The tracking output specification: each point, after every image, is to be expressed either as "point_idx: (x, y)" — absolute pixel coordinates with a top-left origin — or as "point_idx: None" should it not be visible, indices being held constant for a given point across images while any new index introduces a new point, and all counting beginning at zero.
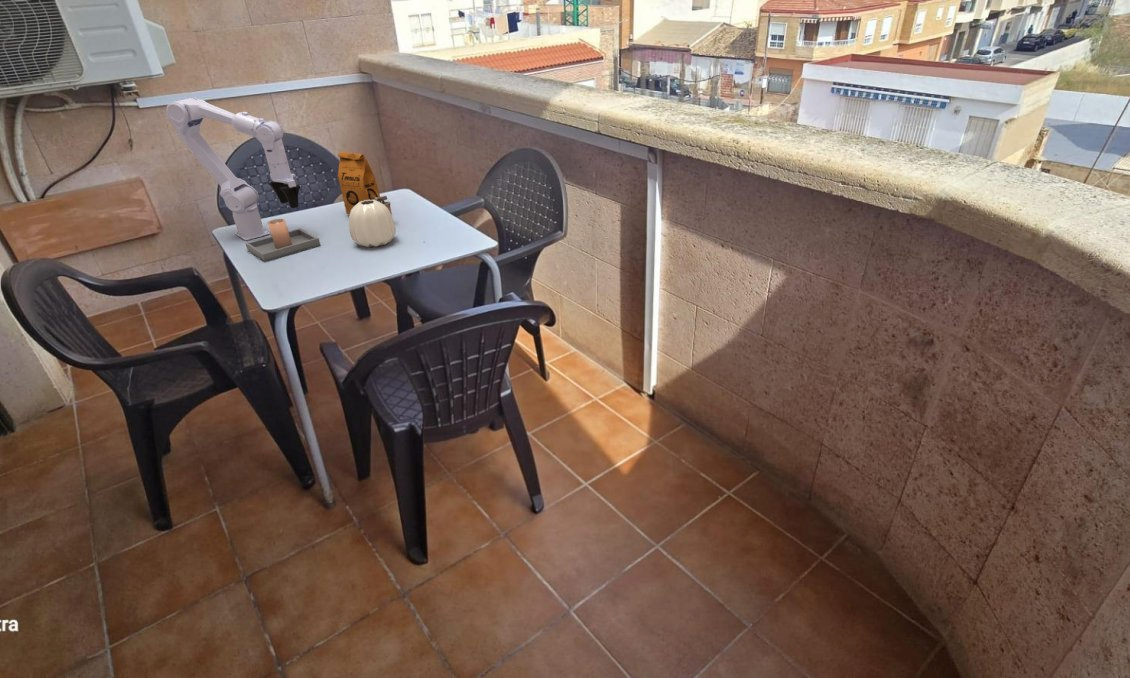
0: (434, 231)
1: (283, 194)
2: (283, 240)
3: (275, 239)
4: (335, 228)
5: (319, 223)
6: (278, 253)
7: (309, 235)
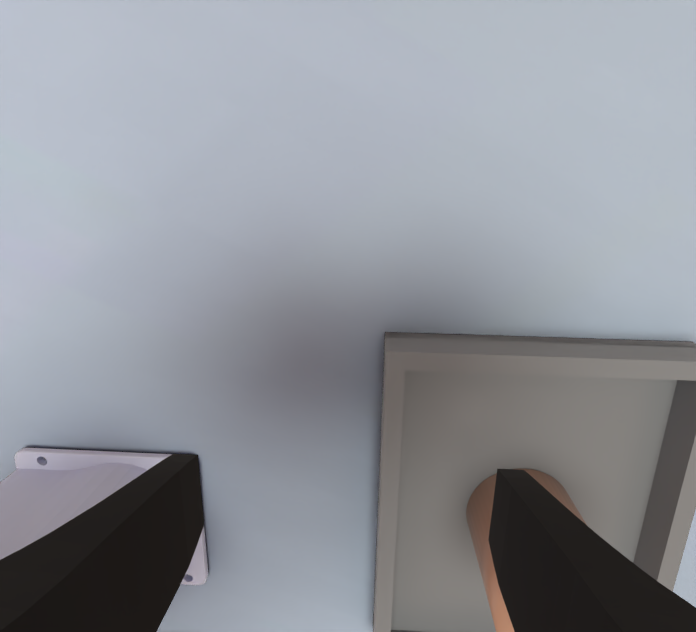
0: None
1: (135, 572)
2: None
3: None
4: (450, 69)
5: (219, 104)
6: None
7: (602, 376)
